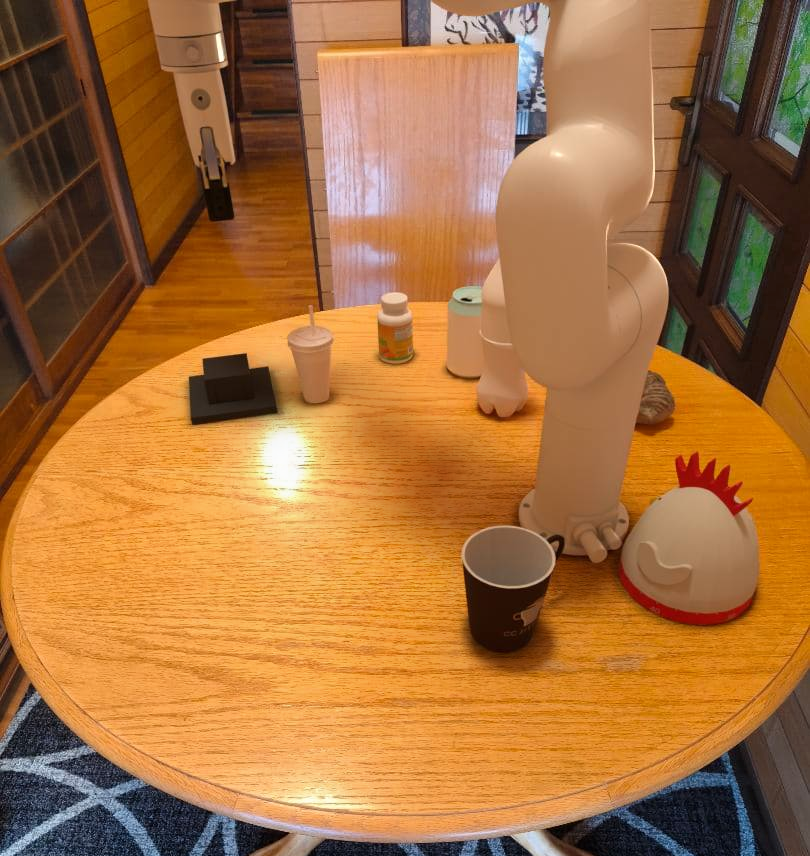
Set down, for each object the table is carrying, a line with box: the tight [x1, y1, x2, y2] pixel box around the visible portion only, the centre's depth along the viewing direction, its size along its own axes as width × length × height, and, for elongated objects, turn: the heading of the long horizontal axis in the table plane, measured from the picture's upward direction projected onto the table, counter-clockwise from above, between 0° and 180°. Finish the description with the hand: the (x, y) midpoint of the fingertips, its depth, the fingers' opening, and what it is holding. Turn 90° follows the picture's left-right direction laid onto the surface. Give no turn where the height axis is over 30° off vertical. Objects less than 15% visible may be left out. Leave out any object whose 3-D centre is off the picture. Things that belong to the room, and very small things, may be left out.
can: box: [446, 285, 483, 379], centre depth 113 cm, size 7×7×12 cm
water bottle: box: [475, 256, 529, 418], centre depth 100 cm, size 7×7×25 cm
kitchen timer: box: [617, 450, 760, 626], centre depth 77 cm, size 14×14×15 cm
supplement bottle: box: [376, 291, 414, 365], centre depth 118 cm, size 5×5×10 cm
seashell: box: [635, 370, 676, 425], centre depth 104 cm, size 9×7×8 cm
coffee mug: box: [461, 525, 565, 654], centre depth 74 cm, size 12×9×10 cm
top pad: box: [201, 352, 254, 404], centre depth 110 cm, size 6×6×4 cm
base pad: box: [188, 365, 279, 426], centre depth 111 cm, size 12×12×3 cm
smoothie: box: [286, 304, 335, 404], centre depth 107 cm, size 6×6×14 cm
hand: (221, 218), depth 98 cm, fingers closed
